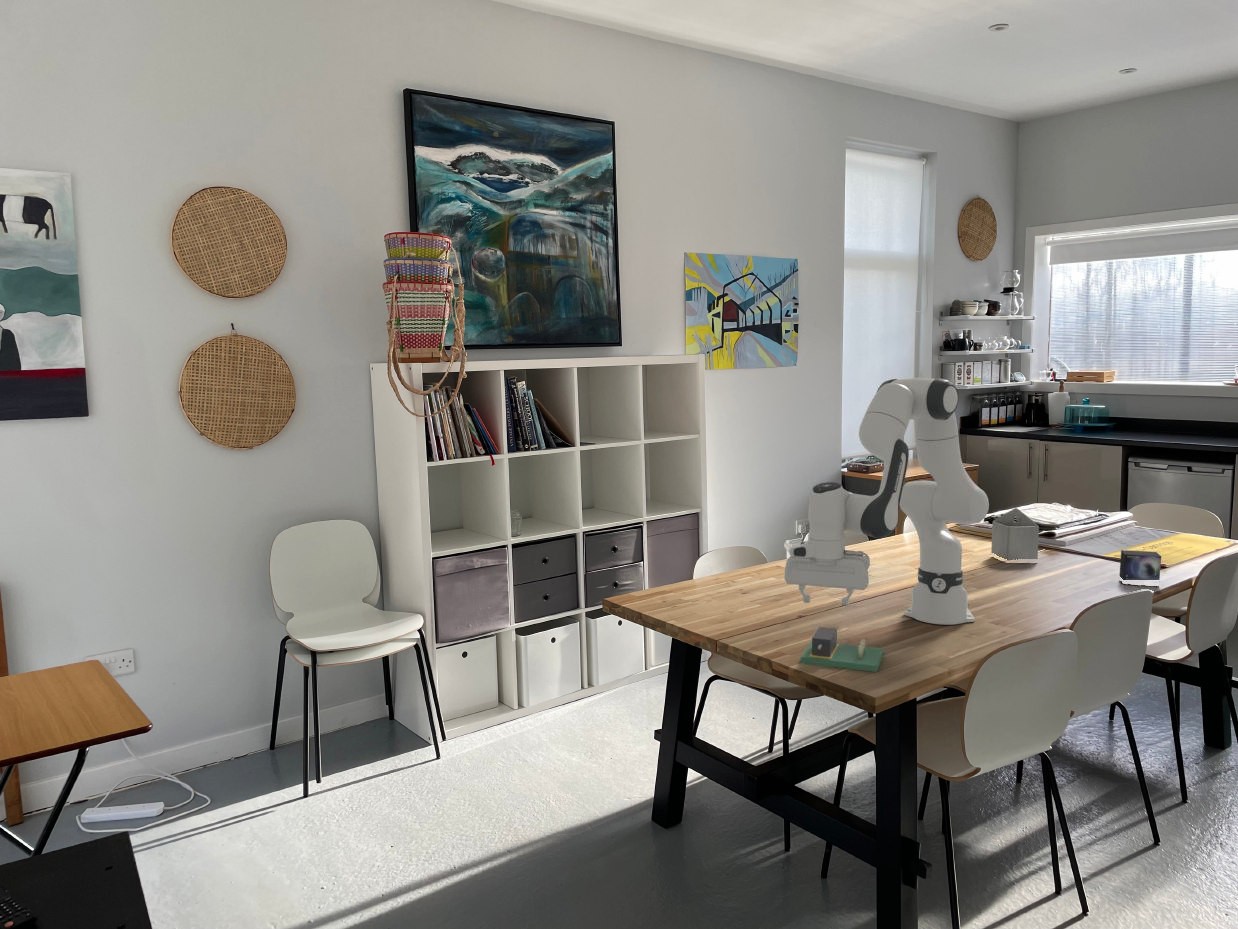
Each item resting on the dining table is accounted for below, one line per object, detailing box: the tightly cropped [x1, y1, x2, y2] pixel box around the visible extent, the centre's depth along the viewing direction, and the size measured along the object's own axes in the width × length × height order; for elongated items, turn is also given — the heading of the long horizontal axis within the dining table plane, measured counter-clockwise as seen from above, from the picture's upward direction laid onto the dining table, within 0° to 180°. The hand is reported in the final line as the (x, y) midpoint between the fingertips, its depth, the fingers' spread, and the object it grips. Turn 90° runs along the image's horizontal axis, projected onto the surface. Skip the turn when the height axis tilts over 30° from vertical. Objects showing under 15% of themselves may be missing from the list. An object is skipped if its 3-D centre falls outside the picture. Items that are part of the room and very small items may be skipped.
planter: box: [991, 507, 1040, 560], centre depth 324 cm, size 16×8×19 cm, turn 48°
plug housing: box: [811, 626, 838, 657], centre depth 222 cm, size 13×4×4 cm, turn 157°
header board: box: [800, 639, 885, 673], centre depth 221 cm, size 14×18×4 cm
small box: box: [1119, 549, 1162, 580], centre depth 291 cm, size 11×6×10 cm, turn 73°
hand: (825, 603), depth 222 cm, fingers open, 8 cm apart
